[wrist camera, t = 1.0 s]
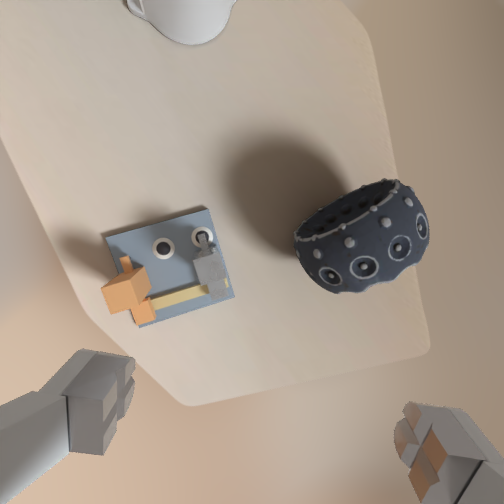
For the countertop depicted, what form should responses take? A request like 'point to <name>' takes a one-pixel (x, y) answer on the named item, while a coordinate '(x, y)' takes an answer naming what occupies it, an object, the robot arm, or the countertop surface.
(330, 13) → the countertop surface
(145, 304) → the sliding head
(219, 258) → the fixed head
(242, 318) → the countertop surface
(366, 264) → the dark rounded piece
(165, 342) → the countertop surface
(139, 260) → the board
